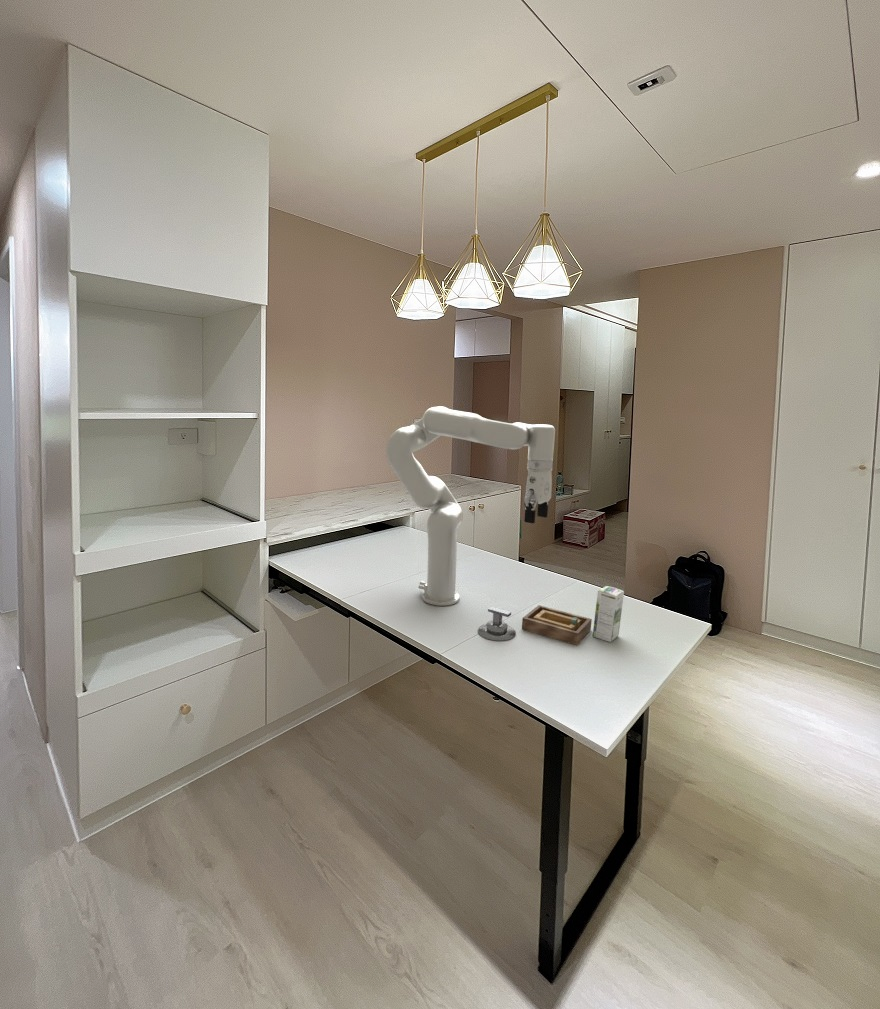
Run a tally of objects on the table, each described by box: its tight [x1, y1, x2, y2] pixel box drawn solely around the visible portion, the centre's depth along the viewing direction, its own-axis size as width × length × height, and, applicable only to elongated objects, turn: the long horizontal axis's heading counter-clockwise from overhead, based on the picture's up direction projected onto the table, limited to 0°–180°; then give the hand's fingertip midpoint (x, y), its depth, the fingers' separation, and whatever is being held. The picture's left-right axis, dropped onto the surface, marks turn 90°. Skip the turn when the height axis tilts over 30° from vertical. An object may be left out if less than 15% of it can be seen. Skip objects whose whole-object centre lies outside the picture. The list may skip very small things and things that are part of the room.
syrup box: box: [592, 585, 625, 643], centre depth 155 cm, size 6×6×14 cm
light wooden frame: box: [533, 610, 581, 631], centre depth 159 cm, size 7×12×4 cm, turn 55°
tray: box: [521, 604, 593, 646], centre depth 159 cm, size 17×12×4 cm
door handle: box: [477, 606, 517, 642], centre depth 156 cm, size 11×11×7 cm
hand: (536, 519), depth 167 cm, fingers open, 9 cm apart
